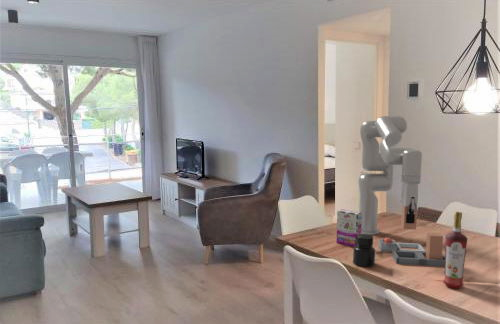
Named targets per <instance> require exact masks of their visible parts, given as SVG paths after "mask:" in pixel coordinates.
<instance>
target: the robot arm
mask: <svg viewBox="0 0 500 324" xmlns="http://www.w3.org/2000/svg"><path fill="white" fill-rule="evenodd" d="M407 123H408V122H407V120H406V119H405V118H404V117H402V116H400V115H390V116H389V115H385V116H380V117H378V118H377V119H376V120H367V121H364V122H363V123H361V126H360V129H359V131H360V132H359V133H360V134H359V135H360V138H361V142H362V155H361V157H362V158H361V166H362V169H363V170H364V171H367V172H371V173H363V174H362V175H360V176H359V177H358V189H359V191H358V192H359V205H358V206H359V210H358V212H361V213H362V234H368V235H371V236H374V235H378V234H380V232H381V231H380V229H379V228H378V209H379V199H378V197H377V195H376V194H375V192H389V191H391V190H392V188H393V183H394V182H393V181H394V180H393V179H394V166H398V165H399V166H401V180H400V181H401V183H402V185H401V196H400V203H401V205H402V204H403V205H404V206H405V207H407V215H406V223H414V220H415V207H417V208H418V199H419V185H420V184H421V175H422V161H423V160H422V159H423V158H422V157H423V154H422V152H421V150H419V149H415V148H413V147H395V146H396V145H398V144H399V143H400V142H401V141H402V139H403V138H402V137H403V136H402V135H403V134H404V133H405V132H406V130H407V127H408V125H407ZM377 138H381V139H382V140H380V143H379V141H378V139H377ZM373 172H381V173H373ZM415 204H416V205H415ZM409 205H411V206H409ZM409 208H411V209H409Z"/></svg>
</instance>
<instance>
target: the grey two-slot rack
mask: <svg viewBox="0 0 500 324" xmlns="http://www.w3.org/2000/svg"><path fill="white" fill-rule="evenodd" d="M391 255H392V258H393V260H394V262H395V263H396V264H397V265H410V266H411V265H412V266H413V265H414V266H428V267H429V266H434V267H445V253H443V252H442V260H437V259H426V252H413V251H398V250H397V251H392V252H391Z"/></svg>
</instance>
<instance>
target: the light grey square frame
mask: <svg viewBox="0 0 500 324" xmlns="http://www.w3.org/2000/svg"><path fill="white" fill-rule="evenodd" d="M396 243H397V251H413V252H426V249H424V247H423V246H422V245H421V243H413V242H411V243H410V242H396ZM404 248H414V249H404Z"/></svg>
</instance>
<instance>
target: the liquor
mask: <svg viewBox="0 0 500 324" xmlns="http://www.w3.org/2000/svg"><path fill="white" fill-rule="evenodd" d="M462 218H463V212H461V211H454V212H453V225H452V230H451V232H449V233H447V234H445V236H444V238H445V239H444V240H445V245H444V255H445V266H444V279H443V280H442V283H444V284H445V286H447V288H450V289H454V290H456V289H460V288H462V287H463V286H464V282H463V278H464V271H465V270H464V269H465V268H464V267H465V263H466V262H465V260H466V255H467V245H468V239H469V238H468V237H467V236H466V235H465V234H462Z"/></svg>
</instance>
